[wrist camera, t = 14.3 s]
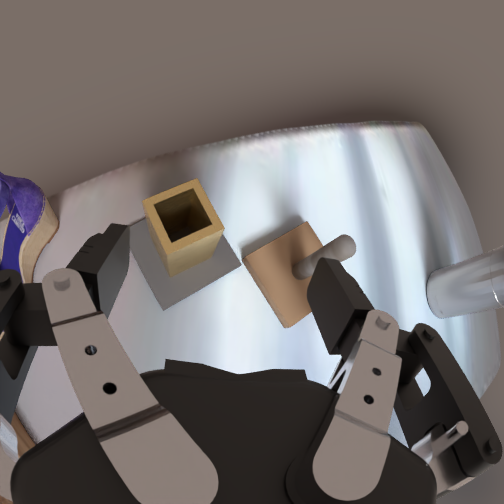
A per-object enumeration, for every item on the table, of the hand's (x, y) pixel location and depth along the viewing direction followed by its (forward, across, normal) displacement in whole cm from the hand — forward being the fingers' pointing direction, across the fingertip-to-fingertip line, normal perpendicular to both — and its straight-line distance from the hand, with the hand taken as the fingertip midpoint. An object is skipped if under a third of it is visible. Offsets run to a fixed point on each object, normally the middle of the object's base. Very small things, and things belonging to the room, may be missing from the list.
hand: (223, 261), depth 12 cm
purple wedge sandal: (+16, +24, +16) cm, 33 cm away
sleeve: (+20, +3, +11) cm, 23 cm away
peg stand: (+20, -12, +12) cm, 26 cm away
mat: (+21, +3, +11) cm, 24 cm away
